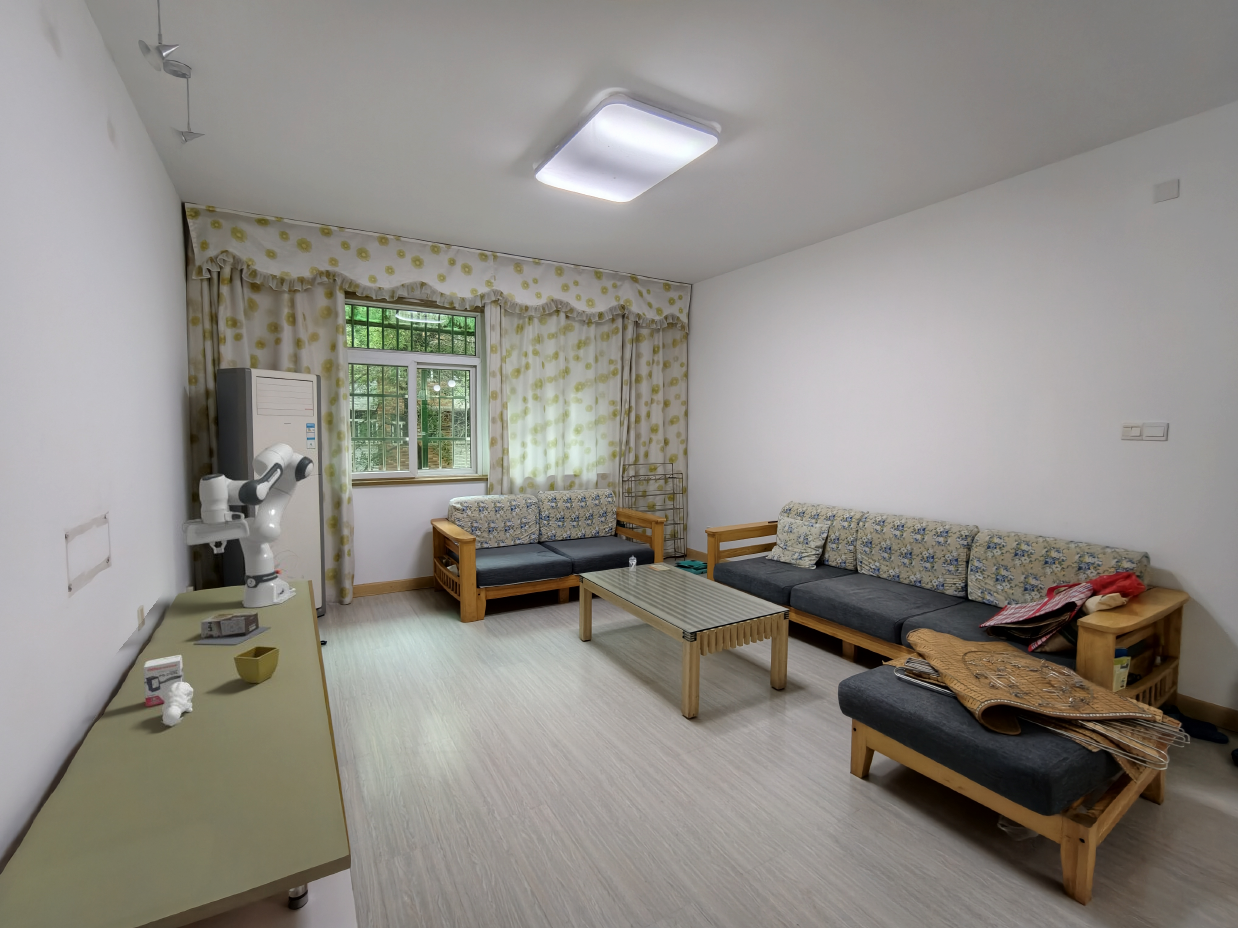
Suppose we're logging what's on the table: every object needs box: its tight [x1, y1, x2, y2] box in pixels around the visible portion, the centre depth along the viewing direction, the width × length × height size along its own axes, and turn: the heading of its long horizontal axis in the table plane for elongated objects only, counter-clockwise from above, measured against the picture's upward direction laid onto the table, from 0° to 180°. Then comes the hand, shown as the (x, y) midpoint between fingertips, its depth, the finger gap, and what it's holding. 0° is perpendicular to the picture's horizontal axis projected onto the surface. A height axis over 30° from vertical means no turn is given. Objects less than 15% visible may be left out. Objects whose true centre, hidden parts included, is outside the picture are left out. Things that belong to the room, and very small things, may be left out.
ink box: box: [142, 654, 184, 707], centre depth 164 cm, size 8×5×12 cm, turn 123°
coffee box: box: [200, 612, 260, 638], centre depth 218 cm, size 9×6×16 cm
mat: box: [193, 626, 272, 646], centre depth 216 cm, size 18×17×1 cm
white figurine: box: [160, 681, 194, 727], centre depth 153 cm, size 6×8×12 cm
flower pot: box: [233, 645, 280, 684], centre depth 176 cm, size 9×9×9 cm
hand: (218, 552), depth 216 cm, fingers closed
